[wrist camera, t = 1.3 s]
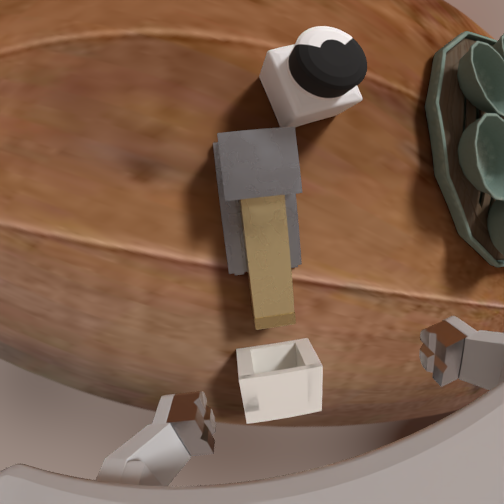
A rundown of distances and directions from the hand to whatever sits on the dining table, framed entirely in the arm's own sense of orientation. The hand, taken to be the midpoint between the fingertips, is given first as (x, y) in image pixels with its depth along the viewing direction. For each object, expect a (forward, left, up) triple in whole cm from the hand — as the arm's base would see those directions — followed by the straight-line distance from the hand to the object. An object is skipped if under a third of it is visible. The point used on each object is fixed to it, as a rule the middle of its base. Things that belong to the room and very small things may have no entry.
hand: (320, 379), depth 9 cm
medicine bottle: (+7, +16, -24) cm, 30 cm away
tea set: (+44, +11, -24) cm, 51 cm away
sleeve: (+1, +5, -24) cm, 24 cm away
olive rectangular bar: (+1, +1, -23) cm, 23 cm away
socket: (+1, -16, -24) cm, 29 cm away
